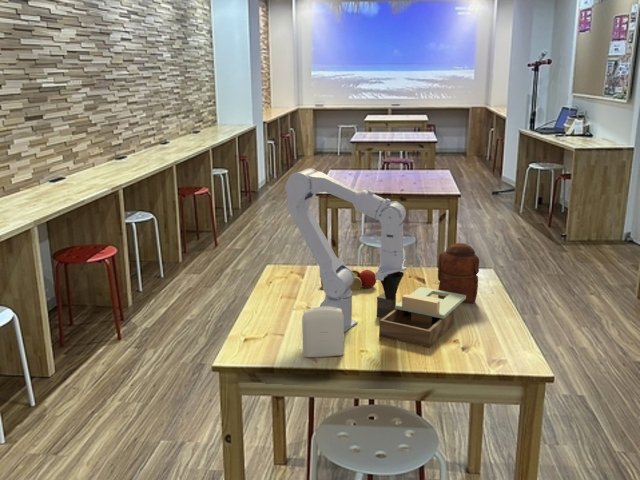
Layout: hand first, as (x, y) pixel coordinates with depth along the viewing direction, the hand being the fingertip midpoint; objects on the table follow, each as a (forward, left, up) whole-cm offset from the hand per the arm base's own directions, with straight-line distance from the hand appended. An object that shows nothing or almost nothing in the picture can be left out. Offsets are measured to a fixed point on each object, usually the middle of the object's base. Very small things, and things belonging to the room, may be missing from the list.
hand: (390, 298), depth 163 cm
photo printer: (-21, +8, -10) cm, 24 cm away
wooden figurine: (+33, -7, -10) cm, 35 cm away
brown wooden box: (+5, -6, -9) cm, 12 cm away
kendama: (+26, +27, -10) cm, 39 cm away
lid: (+14, -6, -5) cm, 16 cm away
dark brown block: (+10, +6, -10) cm, 15 cm away
